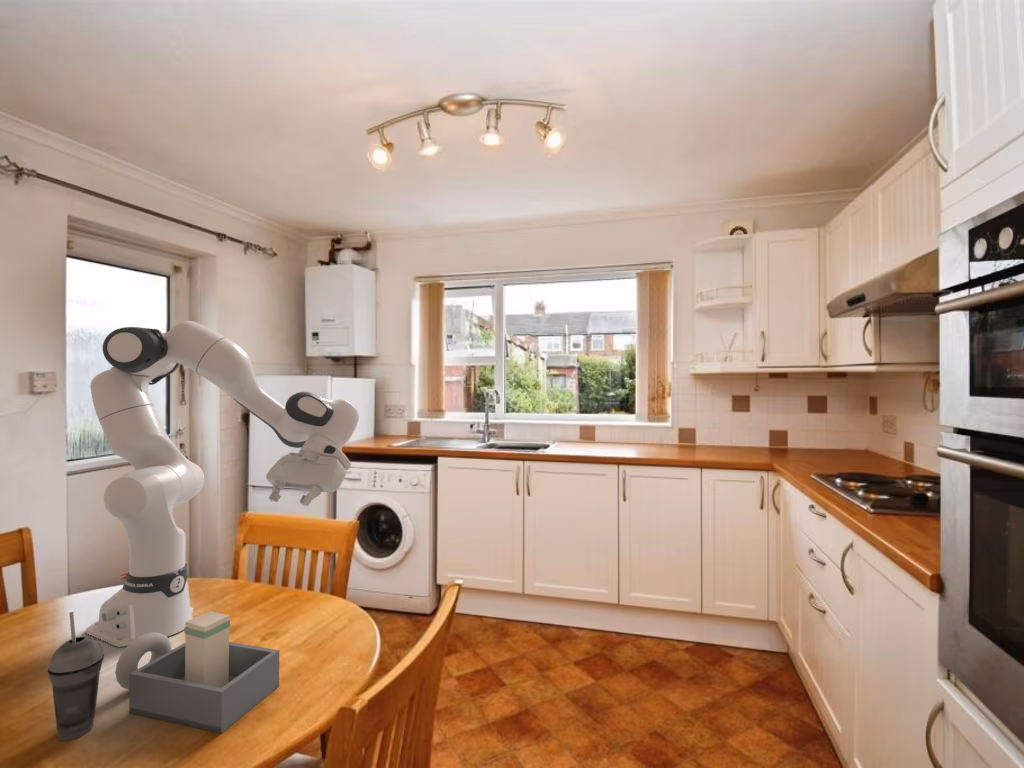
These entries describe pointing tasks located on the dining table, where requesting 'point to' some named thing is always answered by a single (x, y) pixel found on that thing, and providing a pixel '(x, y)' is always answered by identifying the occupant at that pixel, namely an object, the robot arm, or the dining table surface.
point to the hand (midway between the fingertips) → (287, 502)
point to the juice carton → (207, 649)
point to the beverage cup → (75, 684)
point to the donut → (140, 655)
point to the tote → (203, 688)
